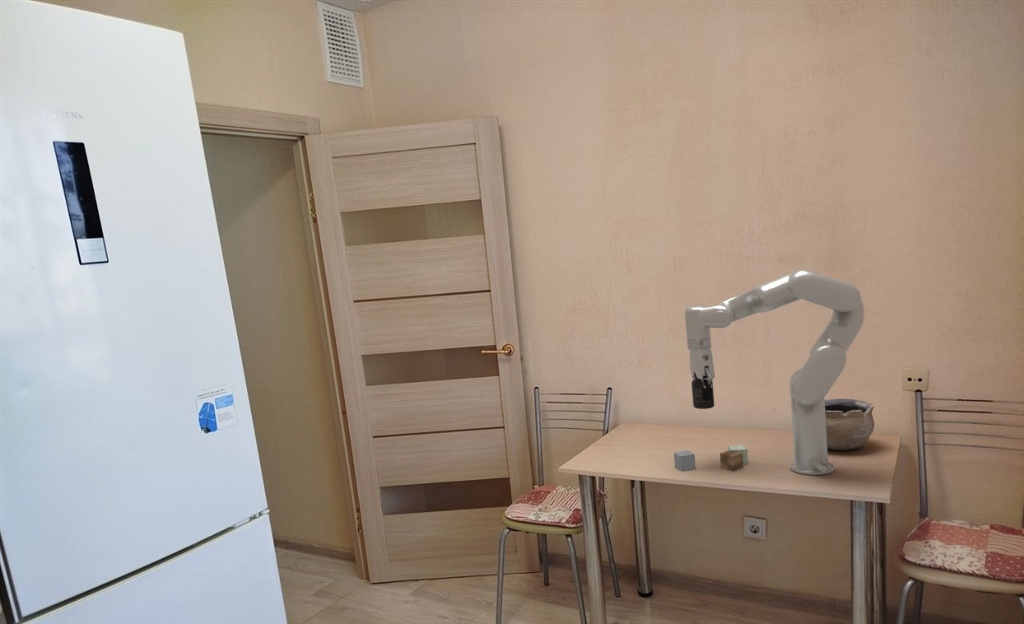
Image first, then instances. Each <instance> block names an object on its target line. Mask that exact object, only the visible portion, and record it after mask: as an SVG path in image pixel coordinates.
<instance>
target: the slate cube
mask: <svg viewBox="0 0 1024 624" xmlns="http://www.w3.org/2000/svg"><path fill="white" fill-rule="evenodd" d="M673 457H674V467H675V468H676V469H677V468H678V469H677V470H679V471H680V470H681V471H680V472H684V471H685V470H686V471H691V470H692V469H693V470H696V468H697V467H696V466H697V465H696V456H695V453H693V452H692V451H690V450H688V449H687V450H679V451H675V452H673Z"/></svg>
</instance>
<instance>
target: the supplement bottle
mask: <svg viewBox="0 0 1024 624" xmlns="http://www.w3.org/2000/svg"><path fill="white" fill-rule="evenodd" d="M694 377H695V379H693V378H692V380H691V393H692V394H691V395H692V406H693V408H694V409H698V410H699V409H700V410H706V409H707V410H709V409H712V408H714V407H715V392H714V391H715V390H714V381H713V380H712V395H713V399H712V400H703V399H702V388H703V386H702V382H701V380H700V379H698V378H697V376H696V373H695V372H694ZM703 378H707V377H703ZM704 382H706V381H704Z"/></svg>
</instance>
